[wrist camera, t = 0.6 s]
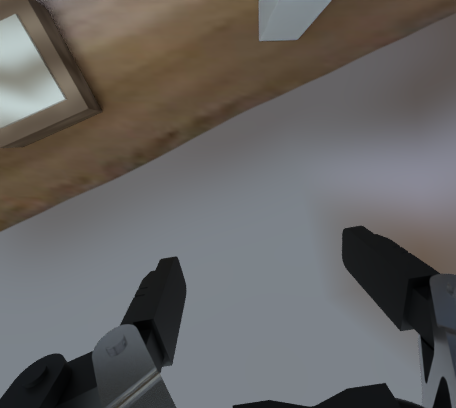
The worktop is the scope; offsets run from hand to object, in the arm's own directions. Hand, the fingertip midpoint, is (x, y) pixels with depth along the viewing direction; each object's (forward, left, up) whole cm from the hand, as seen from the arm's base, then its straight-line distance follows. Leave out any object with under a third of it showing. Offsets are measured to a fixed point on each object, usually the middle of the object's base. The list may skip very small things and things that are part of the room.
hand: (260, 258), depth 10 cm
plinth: (-23, -21, -28) cm, 42 cm away
